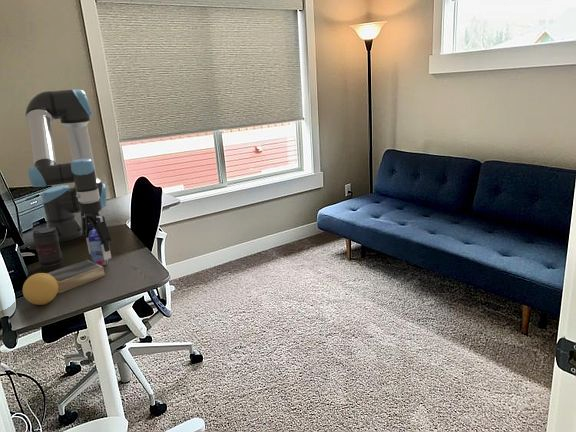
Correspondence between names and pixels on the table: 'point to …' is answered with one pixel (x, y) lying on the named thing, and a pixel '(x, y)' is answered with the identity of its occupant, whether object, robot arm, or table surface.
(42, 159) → the robot arm
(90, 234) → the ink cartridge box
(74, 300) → the table surface
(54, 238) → the dark lidded jar
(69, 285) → the plinth
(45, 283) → the stress ball
